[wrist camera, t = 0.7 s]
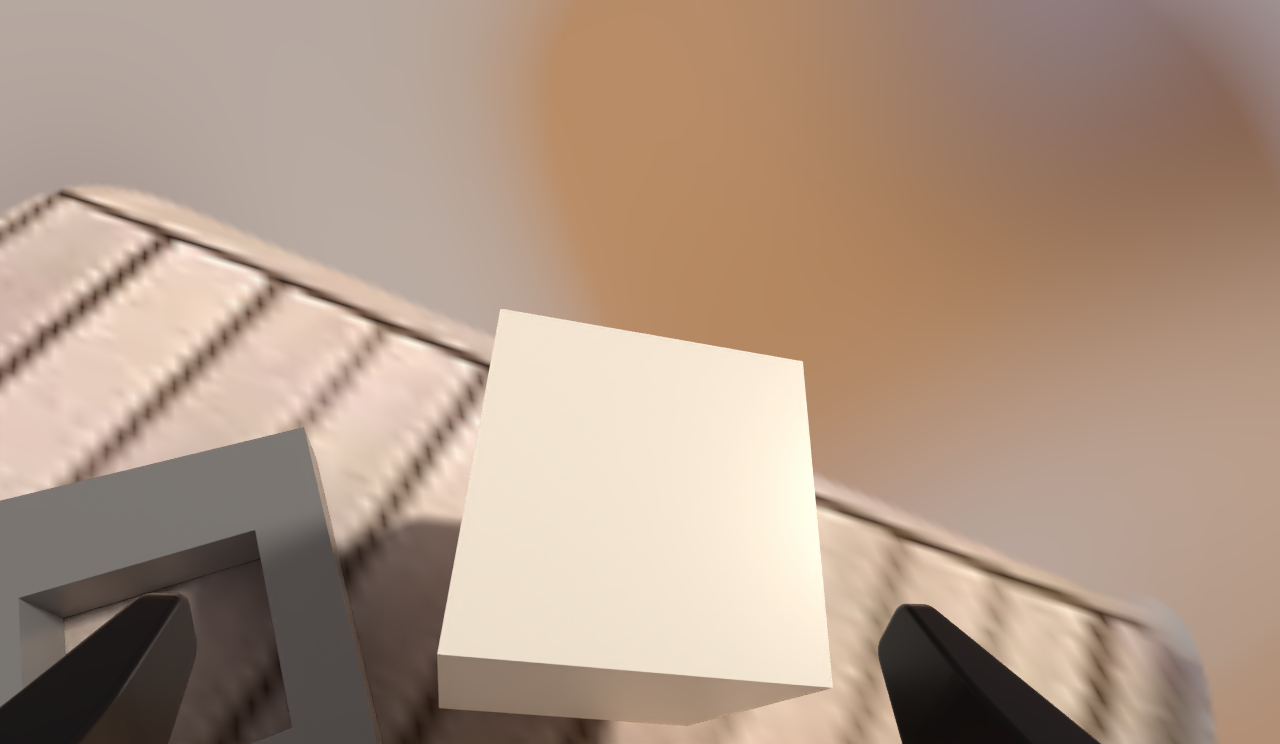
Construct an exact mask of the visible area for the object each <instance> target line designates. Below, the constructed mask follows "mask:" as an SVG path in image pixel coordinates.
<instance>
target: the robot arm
mask: <svg viewBox="0 0 1280 744" xmlns="http://www.w3.org/2000/svg"><path fill="white" fill-rule="evenodd" d="M195 654H196V636H195V631H194V625H193V620H192V615H191V609H190V604H189V601H188V598H187V597H186V596H185V595H184V594H180V593H147V594H144V595H142V596H140V597H138V598H137V599H135V600H134V601H133V602H132V603H130V604H129V605H128V606H127V607H125V608H124V609H123V610H121V611H120V612H119V613H118V614H116V615H115V616H114V617H113V618H111V619H110V620H109V621H108V622H106V623H105V624H104V625H103V626H101V627H100V628H99V629H98V630H96V631H95V632H94V633H92V634H91V635H90V636H89V637H87V638H86V639H85V640H84V641H82V642H81V643H80V644H79V645H77V646H76V647H75V648H74V649H72V650H71V651H70V652H69V653H67V654H66V655H65V656H64V657H62V658H61V659H60V660H58V661H57V662H56V663H55V664H53V665H52V666H51V667H50V668H48V669H47V670H46V671H45V672H43V673H42V674H41V675H40V676H38V677H37V678H36V679H35V680H33V681H32V682H31V683H29V684H28V685H27V686H26V687H24V688H23V689H22V690H21V691H19V692H18V693H17V694H16V695H14V696H13V697H12V698H11V699H9V700H8V701H7V702H6V703H4V704H3V705H2V706H0V744H168V742H169V739H170V736H171V733H172V730H173V726H174V723H175V720H176V717H177V714H178V711H179V707H180V704H181V701H182V698H183V695H184V692H185V689H186V685H187V682H188V679H189V676H190V673H191V670H192V666H193V663H194V659H195ZM878 657H879V662H880V665H881V669H882V673H883V676H884V680H885V683H886V687H887V691H888V694H889V698H890V701H891V705H892V709H893V712H894V716H895V719H896V723H897V727H898V730H899V734H900V737H901V741H902V744H1101V743H1099V742H1098V741H1097V740H1096V739H1094V738H1093V737H1092V736H1091V735H1090V734H1088V733H1087V732H1086V731H1085V730H1083V729H1082V728H1081V727H1080V726H1078V725H1077V724H1076V723H1075V722H1074V721H1072V720H1071V719H1070V718H1069V717H1067V716H1066V715H1065V714H1064V713H1062V712H1061V711H1060V710H1059V709H1058V708H1056V707H1055V706H1054V705H1053V704H1051V703H1050V702H1049V701H1048V700H1046V699H1045V698H1044V697H1043V696H1042V695H1040V694H1039V693H1038V692H1037V691H1035V690H1034V689H1033V688H1032V687H1030V686H1029V685H1028V684H1027V683H1026V682H1024V681H1023V680H1022V679H1021V678H1019V677H1018V676H1017V675H1016V674H1014V673H1013V672H1012V671H1011V670H1010V669H1008V668H1007V667H1006V666H1005V665H1003V664H1002V663H1001V662H1000V661H998V660H997V659H996V658H995V657H994V656H992V655H991V654H990V653H989V652H987V651H986V650H985V649H984V648H982V647H981V646H980V645H979V644H978V643H976V642H975V641H974V640H973V639H971V638H970V637H969V636H968V635H966V634H965V633H964V632H963V631H962V630H960V629H959V628H958V627H957V626H955V625H954V624H953V623H952V622H950V621H949V620H948V619H947V618H946V617H944V616H943V615H942V614H941V613H939V612H938V611H937V610H936V609H934V608H933V607H931V606H929V605H925V604H902V605H901V606H899V607H898V608H897V609H896V611H895V612H894V614H893V616H892V618H891V620H890V622H889V624H888V626H887V627H886V629H885V631H884V633H883V635H882V637H881V639H880V641H879V645H878Z"/></svg>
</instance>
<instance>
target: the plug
mask: <svg viewBox="0 0 1280 744" xmlns="http://www.w3.org/2000/svg"><path fill="white" fill-rule="evenodd" d="M437 663H438V694H439V708H445V709H459V710H473V711H487V712H501V713H515V714H529V715H542V716H556V717H570V718H584V719H598V720H612V721H626V722H640V723H654V724H668V725H682V726H689V725H692V724H696V723H700V722H704V721H708V720H711V719H715V718H719V717H723V716H727V715H731V714H734V713H738V712H742V711H746V710H750V709H754V708H757V707H761V706H765V705H769V704H773V703H777V702H780V701H784V700H788V699H792V698H796V697H800V696H803V695H807V694H811V693H815V692H819V691H823V690H826V689H830V688H833V686H832V675H831V664H830V653H829V643H828V632H827V621H826V610H825V599H824V588H823V577H822V567H821V556H820V545H819V534H818V523H817V512H816V501H815V491H814V480H813V469H812V458H811V447H810V437H809V427H808V415H807V404H806V393H805V382H804V372H803V362H802V361H796V360H791V359H786V358H779V357H773V356H769V355H762V354H757V353H751V352H746V351H740V350H734V349H728V348H723V347H717V346H711V345H706V344H699V343H694V342H688V341H683V340H677V339H671V338H666V337H660V336H654V335H648V334H643V333H637V332H631V331H625V330H620V329H614V328H608V327H603V326H597V325H591V324H586V323H580V322H574V321H568V320H562V319H557V318H551V317H545V316H540V315H534V314H528V313H523V312H517V311H511V310H505V309H500V314H499V320H498V325H497V331H496V336H495V342H494V347H493V353H492V358H491V364H490V369H489V374H488V380H487V385H486V391H485V396H484V402H483V407H482V413H481V418H480V424H479V429H478V434H477V440H476V445H475V451H474V456H473V462H472V467H471V473H470V478H469V484H468V489H467V494H466V500H465V505H464V511H463V516H462V522H461V527H460V533H459V538H458V544H457V549H456V554H455V560H454V565H453V571H452V576H451V582H450V587H449V593H448V598H447V604H446V609H445V614H444V620H443V625H442V631H441V636H440V642H439V647H438V653H437Z"/></svg>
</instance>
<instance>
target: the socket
mask: <svg viewBox="0 0 1280 744" xmlns="http://www.w3.org/2000/svg"><path fill="white" fill-rule="evenodd" d="M257 559H261V564H262V569H263V575H264V580H265V586H266V591H267V596H268V602H269V607H270V612H271V618H272V623H273V629H274V634H275V639H276V645H277V650H278V655H279V661H280V666H281V672H282V677H283V682H284V688H285V693H286V698H287V704H288V709H289V715H290V720H291V725H292V728H289V729H287V730H284V731H282V732H279V733H277V734H274V735H272V736H269V737H267V738H264V739H262V740H259V741H256V742H254V743H251V744H382V739H381V735H380V731H379V727H378V722H377V718H376V714H375V709H374V705H373V701H372V696H371V692H370V688H369V684H368V679H367V675H366V671H365V666H364V662H363V658H362V654H361V649H360V645H359V641H358V636H357V632H356V628H355V623H354V619H353V615H352V611H351V606H350V602H349V598H348V593H347V589H346V585H345V580H344V576H343V572H342V568H341V563H340V559H339V555H338V550H337V546H336V542H335V538H334V533H333V529H332V525H331V520H330V516H329V512H328V507H327V503H326V499H325V495H324V490H323V486H322V482H321V477H320V473H319V469H318V464H317V460H316V457H315V455H314V452H313V449H312V447H311V444H310V441H309V439H308V436H307V433H306V431H305V428H304V427H303V428H299V429H295V430H291V431H287V432H283V433H279V434H274V435H270V436H266V437H262V438H258V439H254V440H250V441H245V442H241V443H237V444H233V445H229V446H225V447H221V448H217V449H212V450H208V451H204V452H200V453H196V454H192V455H188V456H183V457H179V458H175V459H171V460H167V461H163V462H159V463H154V464H150V465H146V466H142V467H138V468H134V469H130V470H126V471H121V472H117V473H113V474H109V475H105V476H101V477H97V478H92V479H88V480H84V481H80V482H76V483H72V484H68V485H63V486H59V487H55V488H51V489H47V490H43V491H39V492H35V493H30V494H26V495H22V496H18V497H14V498H10V499H6V500H1V501H0V706H2V705H3V704H4V703H6V702H7V701H8V700H9V699H11V698H12V697H13V696H14V695H16V694H17V693H18V692H19V691H21V690H22V689H23V688H24V687H26V686H27V685H28V684H29V683H31V682H32V681H33V680H35V679H36V678H37V677H38V676H40V675H41V674H42V673H43V672H45V671H46V670H47V669H48V668H50V667H51V666H52V665H53V664H55V663H56V662H57V661H58V660H60V659H61V658H62V657H64V656H65V655H66V654H65V639H64V624H63V618H65V617H69V616H72V615H75V614H79V613H82V612H85V611H89V610H92V609H95V608H98V607H102V606H105V605H108V604H112V603H115V602H118V601H122V600H125V599H128V598H132V597H135V596H138V595H141V594H145V593H148V592H151V591H155V590H158V589H161V588H165V587H168V586H171V585H174V584H178V583H181V582H184V581H188V580H191V579H194V578H198V577H201V576H204V575H207V574H211V573H214V572H217V571H221V570H224V569H227V568H231V567H234V566H237V565H240V564H244V563H247V562H250V561H254V560H257Z"/></svg>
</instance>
